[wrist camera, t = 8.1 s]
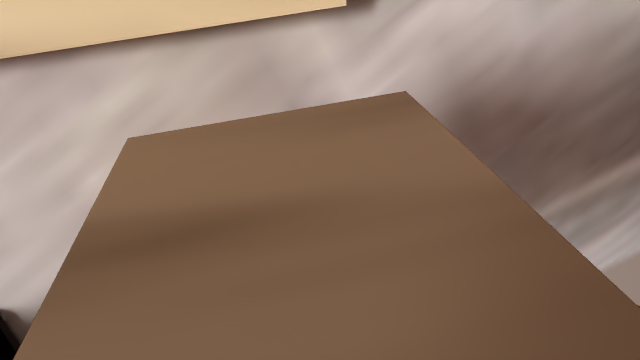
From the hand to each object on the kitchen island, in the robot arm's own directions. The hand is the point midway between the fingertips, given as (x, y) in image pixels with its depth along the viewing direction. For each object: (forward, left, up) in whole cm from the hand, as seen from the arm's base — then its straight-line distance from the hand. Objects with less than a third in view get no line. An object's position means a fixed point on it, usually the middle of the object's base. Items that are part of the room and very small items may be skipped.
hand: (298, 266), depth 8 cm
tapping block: (0, 0, -1) cm, 1 cm away
